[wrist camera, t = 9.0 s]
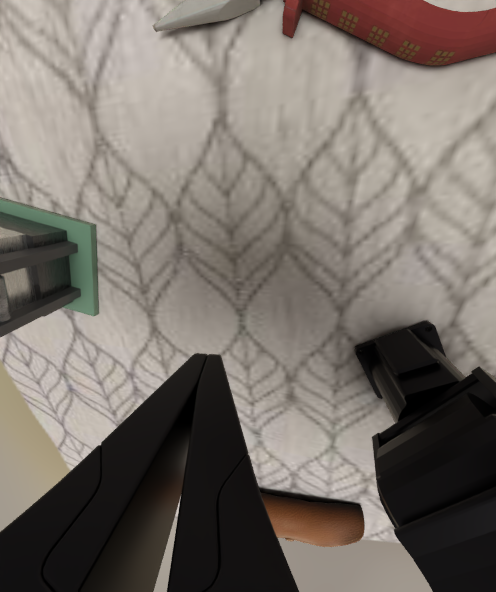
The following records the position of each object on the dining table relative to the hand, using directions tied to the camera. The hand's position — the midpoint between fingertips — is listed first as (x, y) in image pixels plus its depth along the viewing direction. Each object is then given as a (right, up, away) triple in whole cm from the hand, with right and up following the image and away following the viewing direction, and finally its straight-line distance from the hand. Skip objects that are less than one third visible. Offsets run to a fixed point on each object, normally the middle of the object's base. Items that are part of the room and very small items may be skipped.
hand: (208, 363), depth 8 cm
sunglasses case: (+7, -28, +26) cm, 39 cm away
